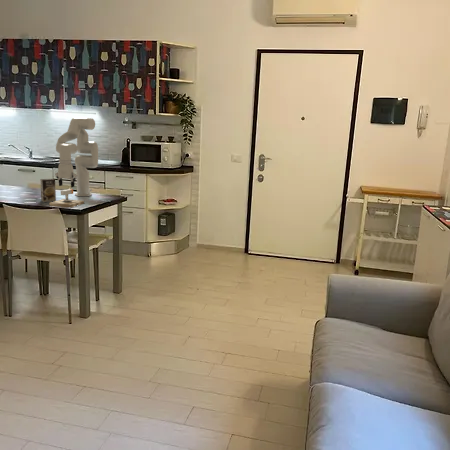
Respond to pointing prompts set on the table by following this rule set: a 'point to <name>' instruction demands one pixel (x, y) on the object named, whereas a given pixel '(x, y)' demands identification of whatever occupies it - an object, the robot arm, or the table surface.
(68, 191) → the t key
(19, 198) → the table surface
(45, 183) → the coffee box
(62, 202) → the key plate
